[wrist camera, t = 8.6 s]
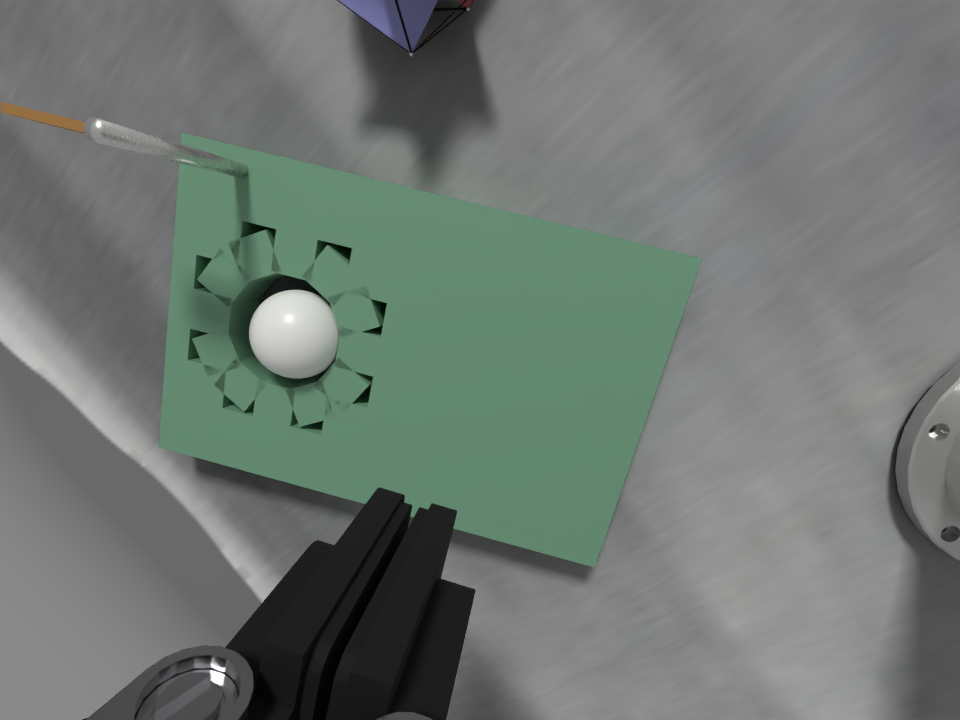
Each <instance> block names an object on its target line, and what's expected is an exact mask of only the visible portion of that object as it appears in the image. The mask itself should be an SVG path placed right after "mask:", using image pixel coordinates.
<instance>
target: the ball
mask: <svg viewBox="0 0 960 720" xmlns="http://www.w3.org/2000/svg"><path fill="white" fill-rule="evenodd" d="M339 336H340V330H339V327H338V325H337V322H336V319H335V316H334V313H333V311H332V308H331V305H330V303H329V302H328V301H327V300H326V299H324V298H323V297H321V296H319V295H317V294H315V293H313V292H309V291H305V290H286V291H282V292H279V293H276V294H274V295H272V296H270V297H269V298H267V299H266V300H265V301H264V302H262V303H261V304H260V305H259V307H258V308H257V309H256V311H255V312H254V314H253V316H252V319H251V322H250V326H249V340H250V344H251V347H252V350H253V352H254V354H255V356H256V357H257V359H258V360H259V361H260V362H261V363H262V364H263V365H264V366H265V367H266V368H267V369H269V370H270V371H272V372H274V373H275V374H278V375H280V376H283V377H288V378H307V377H311V376H314V375H317V374H319V373H321V372H323V371H325V370H326V369H327V368H329V367H330V366H331V365H332V364H333V363H334V362H335V360H336V354H337V348H338V342H339Z"/></svg>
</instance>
